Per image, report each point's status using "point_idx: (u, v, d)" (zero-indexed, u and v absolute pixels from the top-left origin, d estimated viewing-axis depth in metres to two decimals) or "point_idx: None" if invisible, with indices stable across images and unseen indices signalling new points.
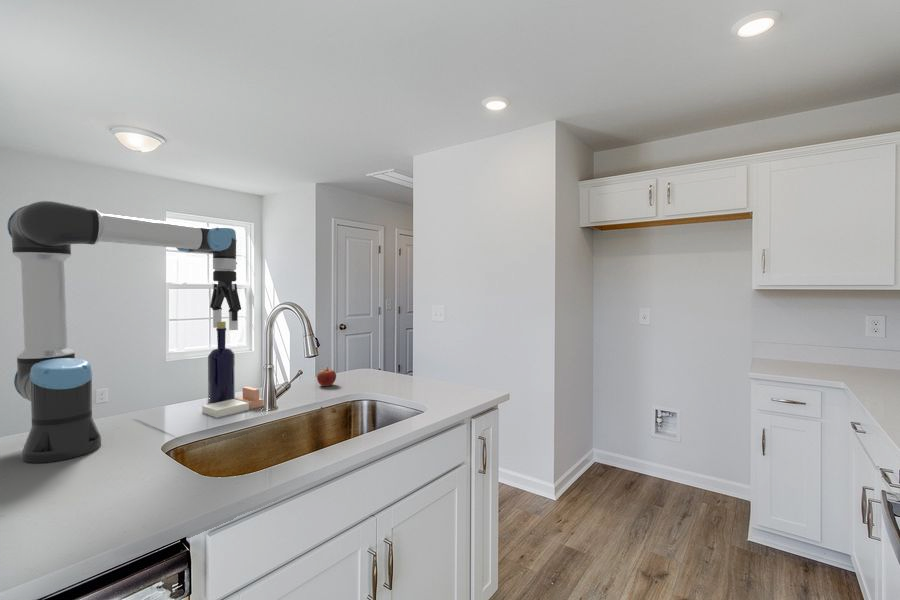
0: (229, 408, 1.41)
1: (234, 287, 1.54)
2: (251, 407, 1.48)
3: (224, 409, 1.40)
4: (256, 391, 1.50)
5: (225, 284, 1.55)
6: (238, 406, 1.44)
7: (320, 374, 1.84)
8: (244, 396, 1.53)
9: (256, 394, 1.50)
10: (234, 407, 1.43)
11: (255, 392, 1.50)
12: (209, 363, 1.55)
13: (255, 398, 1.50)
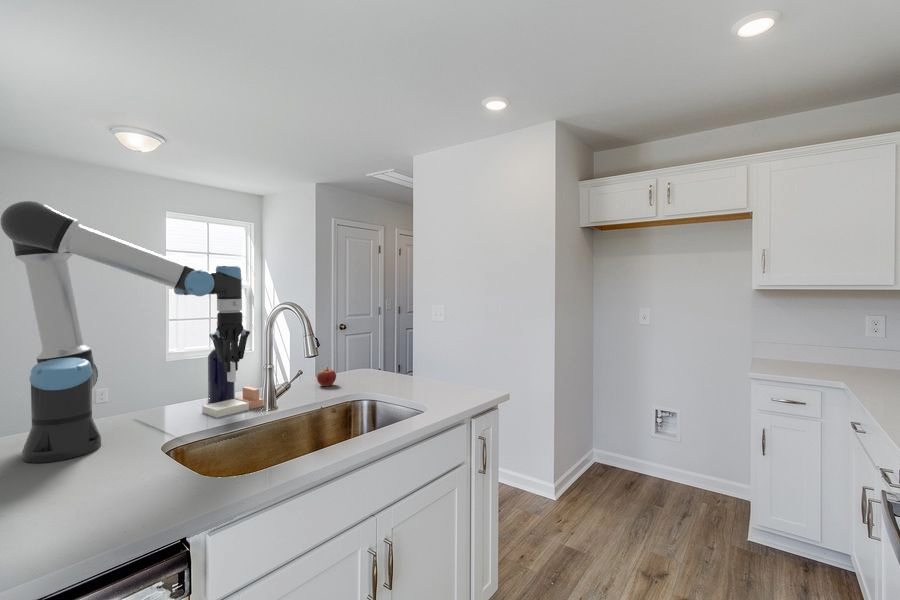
0: (229, 408, 1.41)
1: (213, 338, 1.40)
2: (251, 407, 1.48)
3: (224, 409, 1.40)
4: (256, 391, 1.50)
5: None
6: (238, 406, 1.44)
7: (320, 374, 1.84)
8: (244, 396, 1.53)
9: (256, 394, 1.50)
10: (234, 407, 1.43)
11: (255, 392, 1.50)
12: (209, 363, 1.55)
13: (255, 398, 1.50)
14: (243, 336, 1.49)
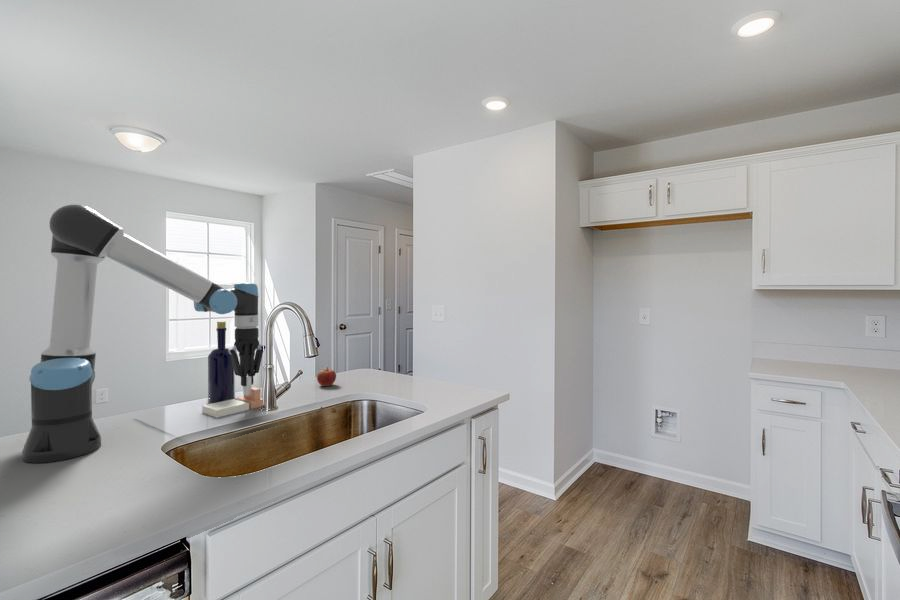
0: (229, 408, 1.41)
1: (231, 353, 1.45)
2: (252, 407, 1.48)
3: (224, 409, 1.40)
4: (257, 391, 1.50)
5: None
6: (238, 406, 1.44)
7: (320, 374, 1.84)
8: (245, 396, 1.53)
9: (257, 394, 1.50)
10: (234, 407, 1.43)
11: (256, 392, 1.50)
12: (209, 363, 1.55)
13: (256, 397, 1.50)
14: (259, 351, 1.54)
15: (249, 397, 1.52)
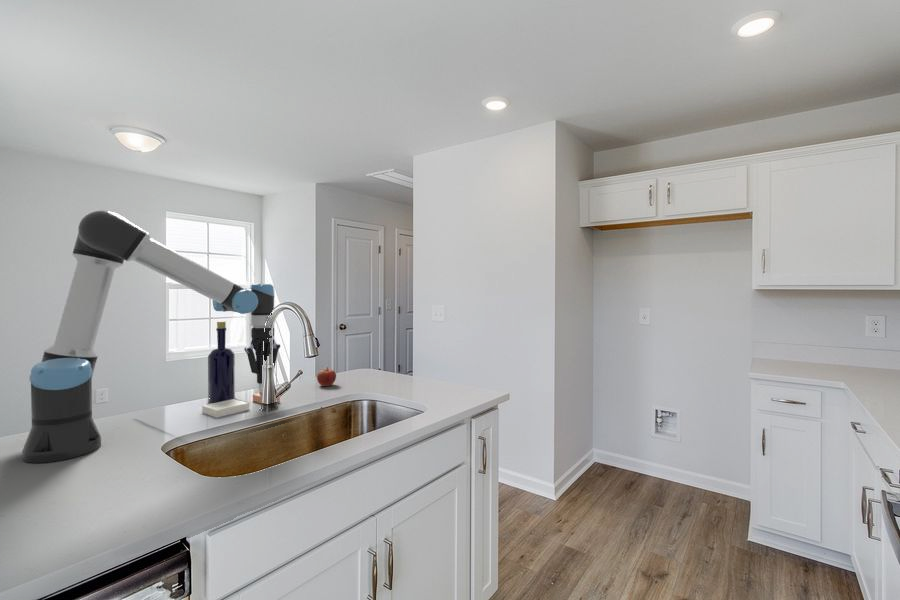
0: (229, 408, 1.41)
1: (248, 351, 1.50)
2: None
3: (224, 409, 1.40)
4: None
5: None
6: (238, 406, 1.44)
7: (320, 374, 1.84)
8: (261, 392, 1.58)
9: None
10: (234, 407, 1.43)
11: None
12: (209, 363, 1.55)
13: None
14: (274, 349, 1.59)
15: None
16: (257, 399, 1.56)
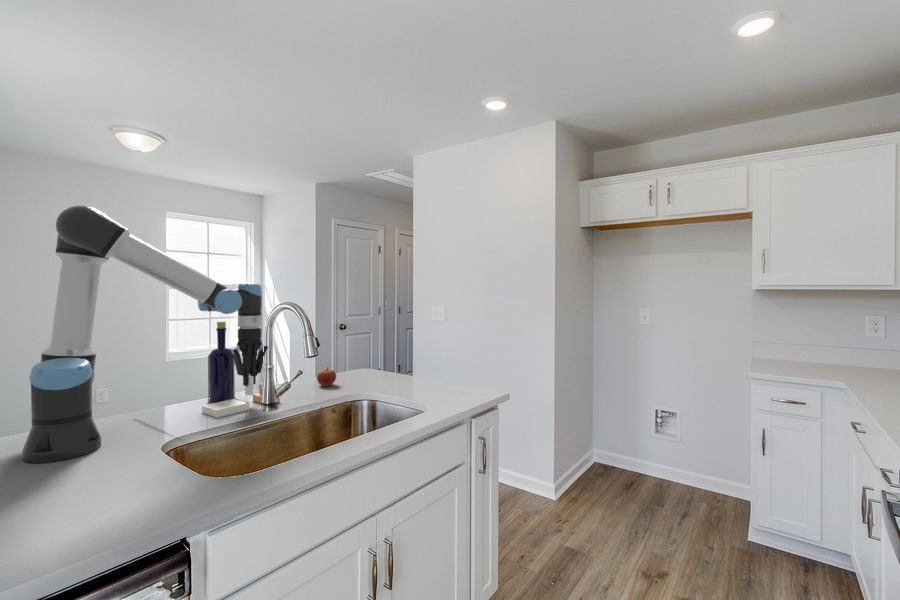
0: (229, 408, 1.41)
1: (234, 353, 1.46)
2: None
3: (224, 409, 1.40)
4: None
5: None
6: (238, 406, 1.44)
7: (320, 374, 1.84)
8: (261, 392, 1.58)
9: None
10: (234, 407, 1.43)
11: None
12: (209, 363, 1.55)
13: None
14: (261, 351, 1.55)
15: None
16: (257, 399, 1.56)
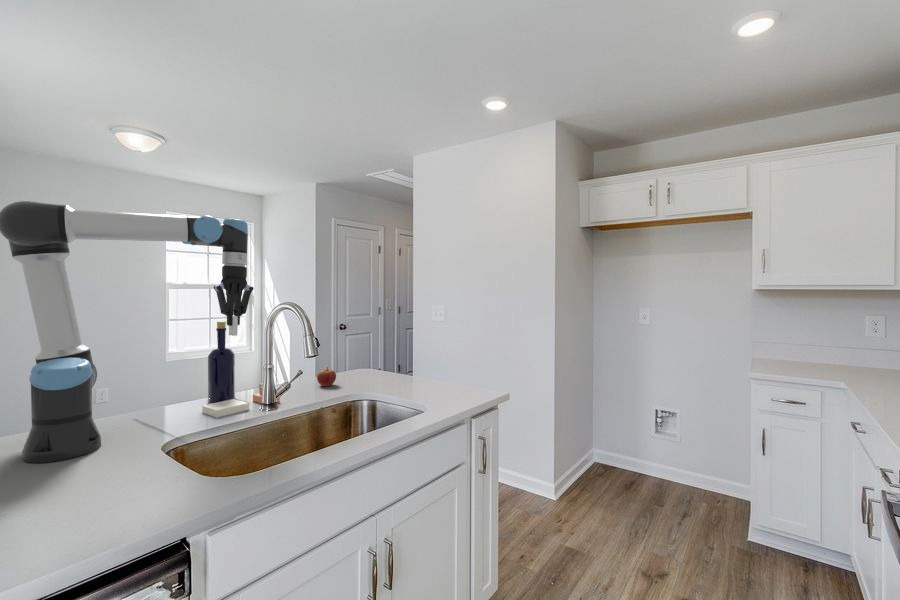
0: (229, 408, 1.41)
1: (217, 289, 1.41)
2: None
3: (224, 409, 1.40)
4: None
5: None
6: (238, 406, 1.44)
7: (320, 374, 1.84)
8: (261, 392, 1.58)
9: None
10: (234, 407, 1.43)
11: None
12: (209, 363, 1.55)
13: None
14: (246, 291, 1.49)
15: None
16: (257, 399, 1.56)
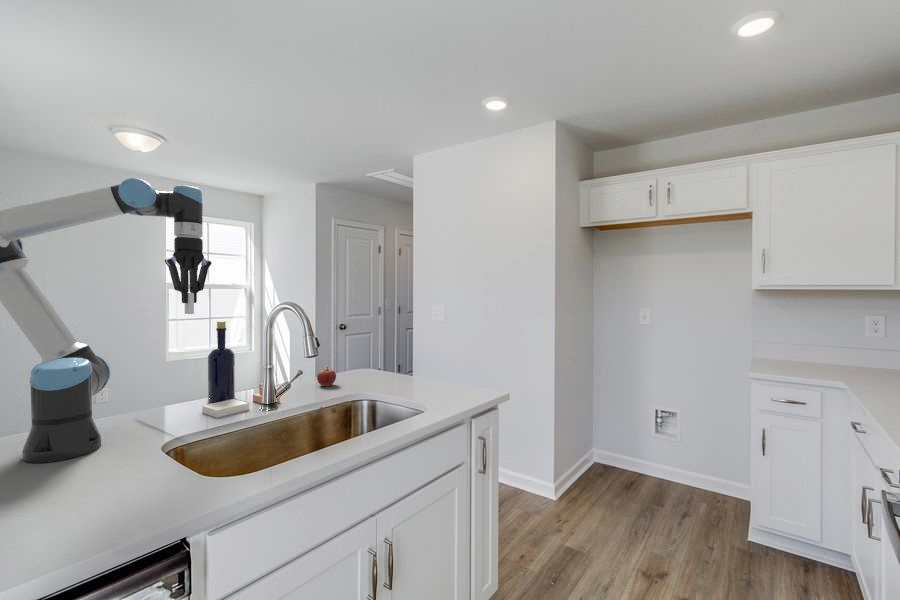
0: (229, 408, 1.41)
1: (168, 263, 1.29)
2: None
3: (224, 409, 1.40)
4: None
5: None
6: (238, 406, 1.44)
7: (320, 374, 1.84)
8: (261, 392, 1.58)
9: None
10: (234, 407, 1.43)
11: None
12: (209, 363, 1.55)
13: None
14: (204, 266, 1.37)
15: None
16: (257, 399, 1.56)
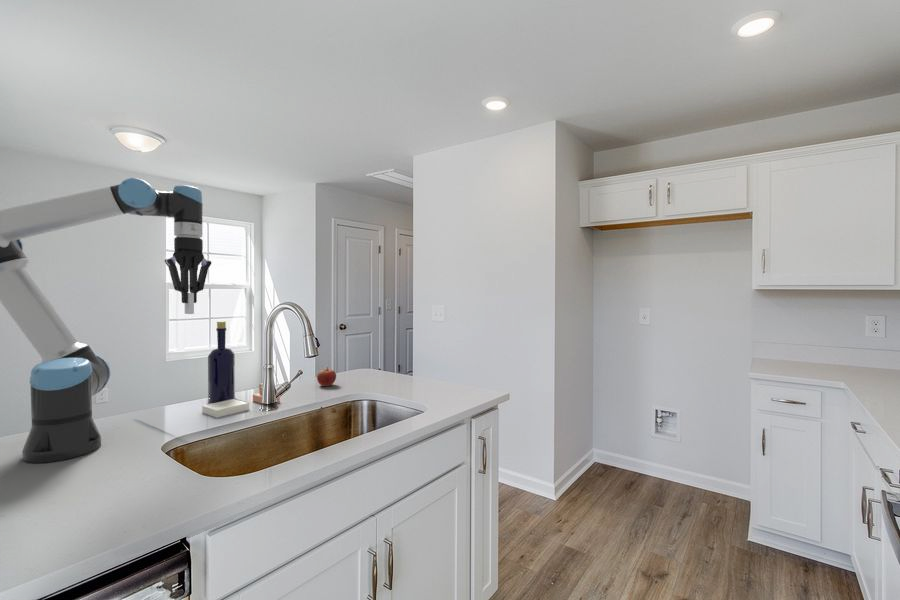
0: (229, 408, 1.41)
1: (168, 263, 1.28)
2: None
3: (224, 409, 1.40)
4: None
5: None
6: (238, 406, 1.44)
7: (320, 374, 1.84)
8: (261, 392, 1.58)
9: None
10: (234, 407, 1.43)
11: None
12: (209, 363, 1.55)
13: None
14: (203, 266, 1.37)
15: None
16: (257, 399, 1.56)
